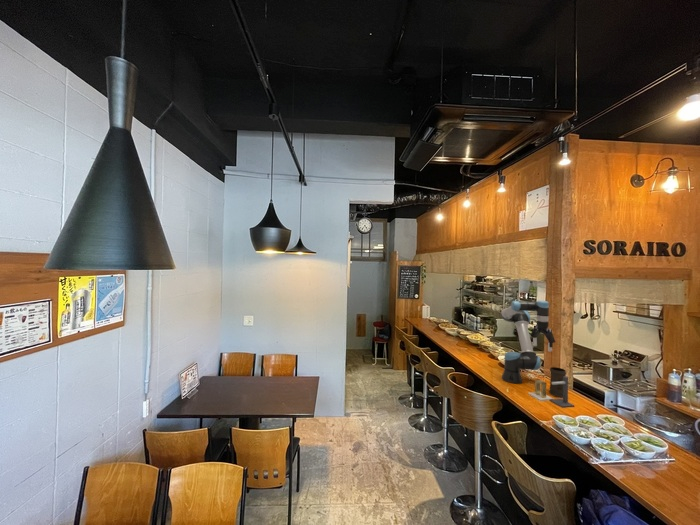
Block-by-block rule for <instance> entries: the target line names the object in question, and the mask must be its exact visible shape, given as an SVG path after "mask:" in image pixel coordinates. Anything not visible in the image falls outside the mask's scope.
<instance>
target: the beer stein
mask: <svg viewBox="0 0 700 525" xmlns="http://www.w3.org/2000/svg"><path fill="white" fill-rule="evenodd" d="M549 371H550V382H549V384H550V385H549V391H548V393H549V394H550V395H551V396H552V397H553V396H554V397H557V398H559V399H563V384H557V385H552V383H551V382H560V381H563V376H566V377H567V371H566V369H564V368H560V367H556V366H553V367H550V368H549Z"/></svg>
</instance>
